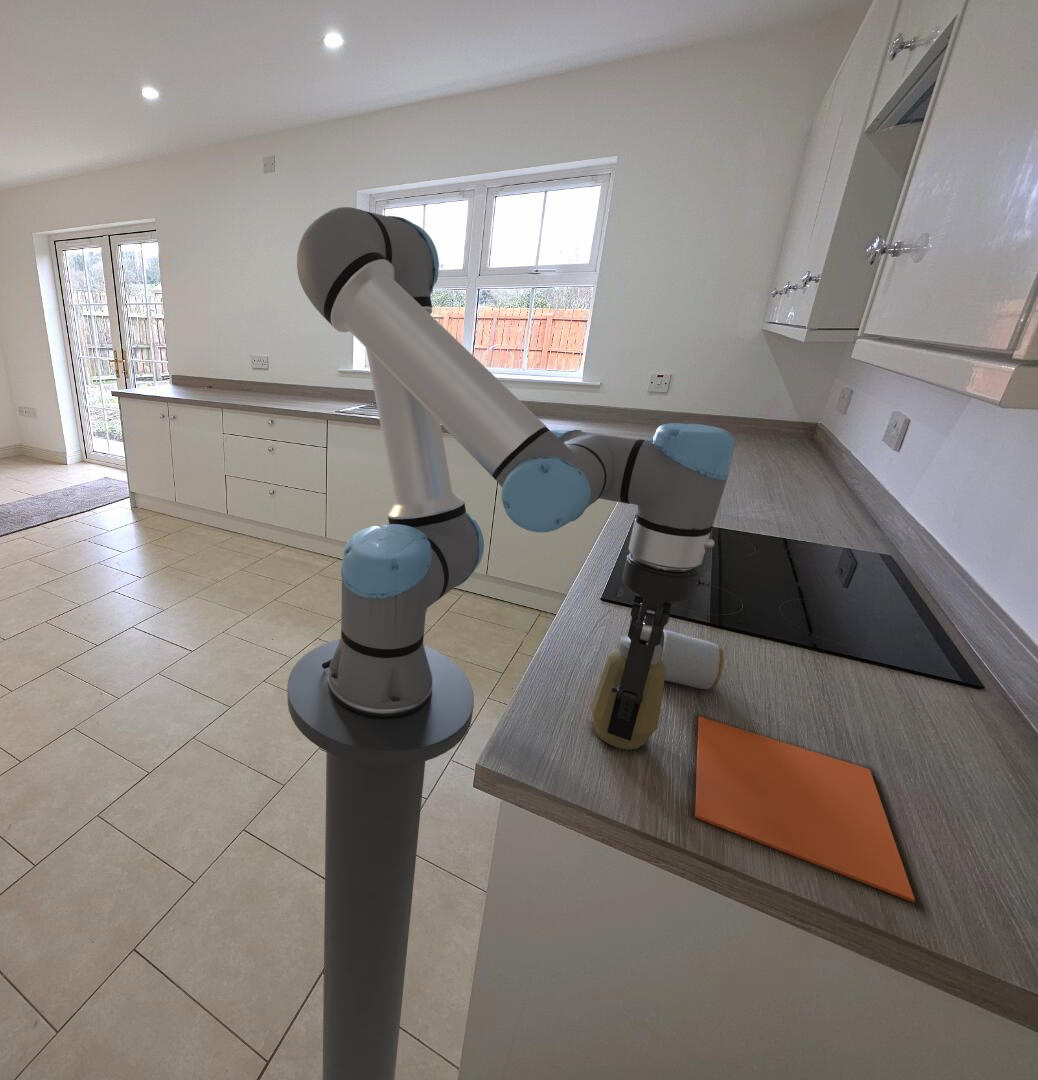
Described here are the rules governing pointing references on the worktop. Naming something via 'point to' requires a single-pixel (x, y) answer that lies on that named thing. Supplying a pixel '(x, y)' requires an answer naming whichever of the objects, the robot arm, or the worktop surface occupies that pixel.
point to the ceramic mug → (691, 660)
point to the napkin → (797, 804)
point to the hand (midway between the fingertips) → (623, 715)
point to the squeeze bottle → (606, 698)
